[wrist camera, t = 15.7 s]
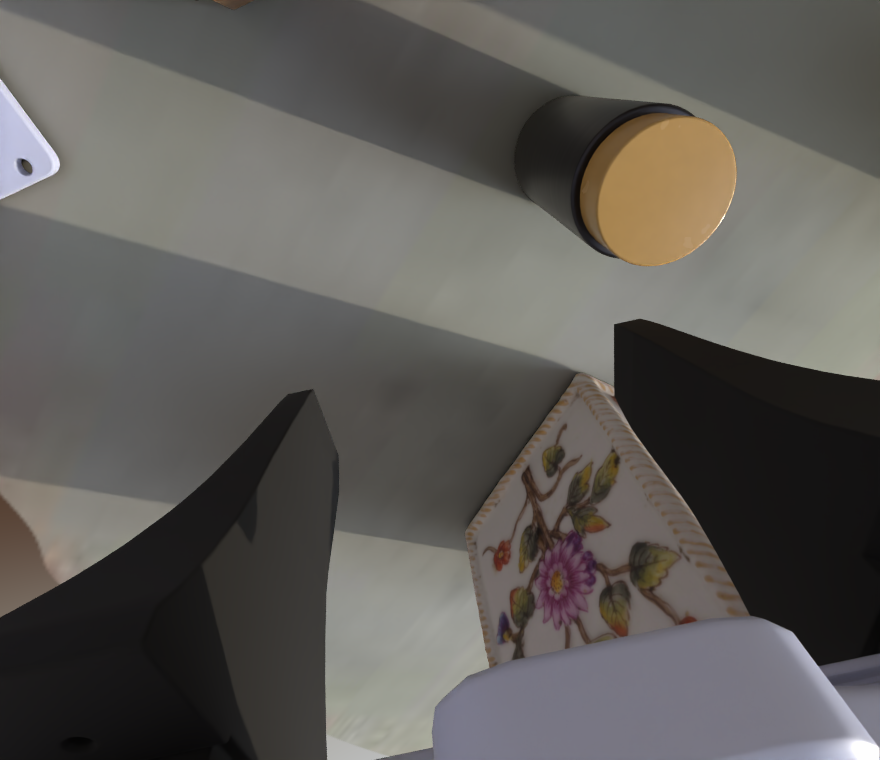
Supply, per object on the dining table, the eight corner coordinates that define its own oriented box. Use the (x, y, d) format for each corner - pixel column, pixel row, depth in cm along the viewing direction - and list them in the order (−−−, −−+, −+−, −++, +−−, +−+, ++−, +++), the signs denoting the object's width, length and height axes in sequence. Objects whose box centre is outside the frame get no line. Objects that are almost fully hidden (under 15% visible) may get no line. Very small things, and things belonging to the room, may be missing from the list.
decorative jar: (619, 579, 32) (848, 1054, 16) (456, 532, 28) (554, 1089, 13) (755, 438, 27) (1271, 928, 11) (580, 359, 23) (991, 925, 8)
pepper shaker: (529, 224, 20) (604, 296, 13) (500, 122, 18) (571, 148, 11) (624, 185, 19) (749, 239, 13) (605, 76, 17) (742, 75, 11)
